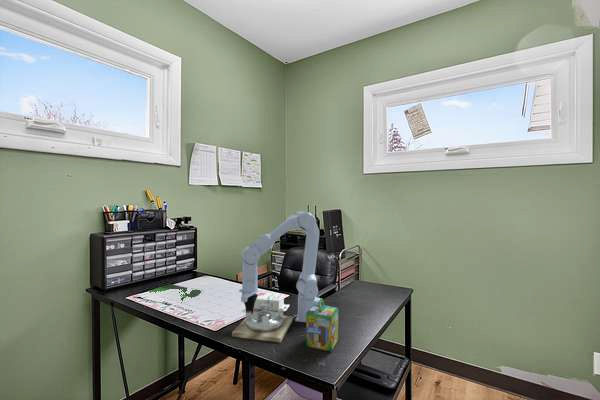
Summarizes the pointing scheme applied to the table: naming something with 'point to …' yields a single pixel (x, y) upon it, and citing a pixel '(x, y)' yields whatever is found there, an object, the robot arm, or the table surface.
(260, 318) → the clear bowl
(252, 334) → the base plate
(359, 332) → the table surface
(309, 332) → the chalk box
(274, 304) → the ink cartridge box
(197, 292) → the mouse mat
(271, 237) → the robot arm
